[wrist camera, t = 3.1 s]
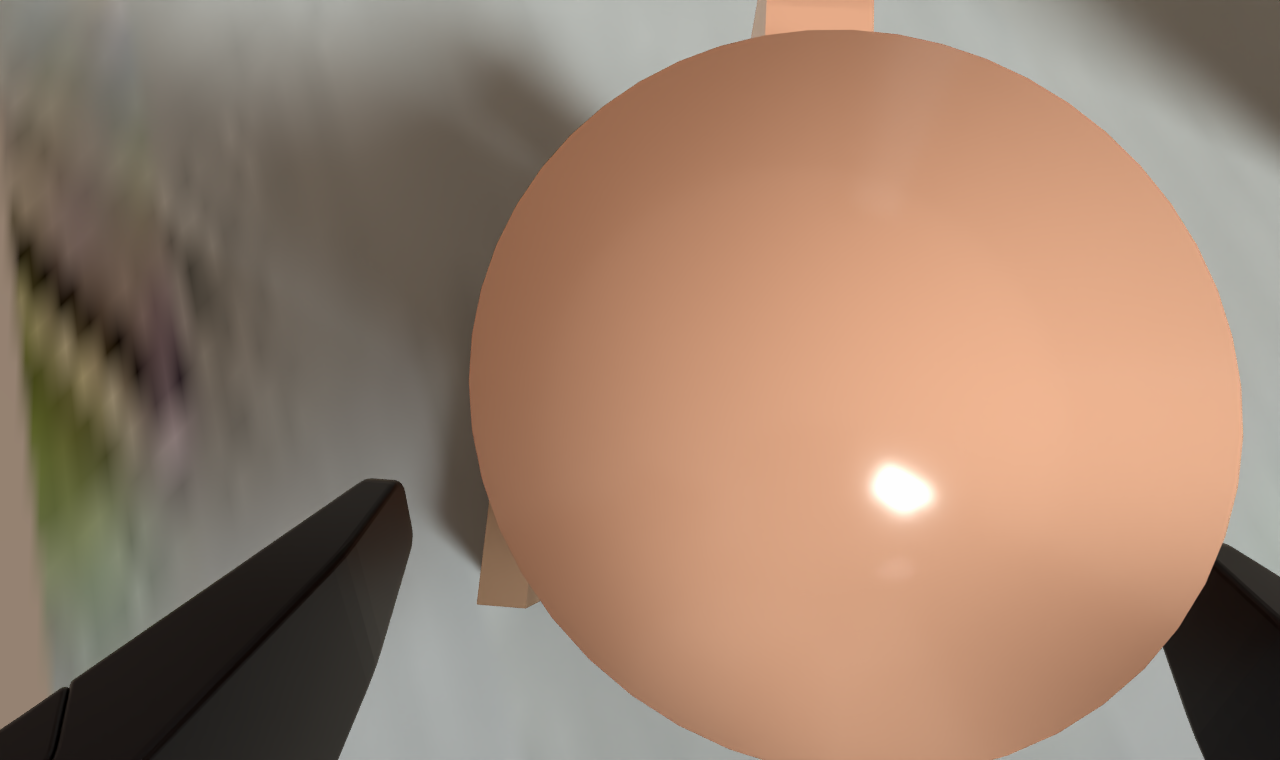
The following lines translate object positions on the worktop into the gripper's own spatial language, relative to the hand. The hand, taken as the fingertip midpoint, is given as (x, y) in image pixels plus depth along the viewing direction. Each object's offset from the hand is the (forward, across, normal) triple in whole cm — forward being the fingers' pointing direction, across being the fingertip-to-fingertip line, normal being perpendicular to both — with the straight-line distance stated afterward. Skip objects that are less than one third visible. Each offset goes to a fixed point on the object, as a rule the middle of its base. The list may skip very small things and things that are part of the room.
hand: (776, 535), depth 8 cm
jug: (+8, 0, +5) cm, 9 cm away
